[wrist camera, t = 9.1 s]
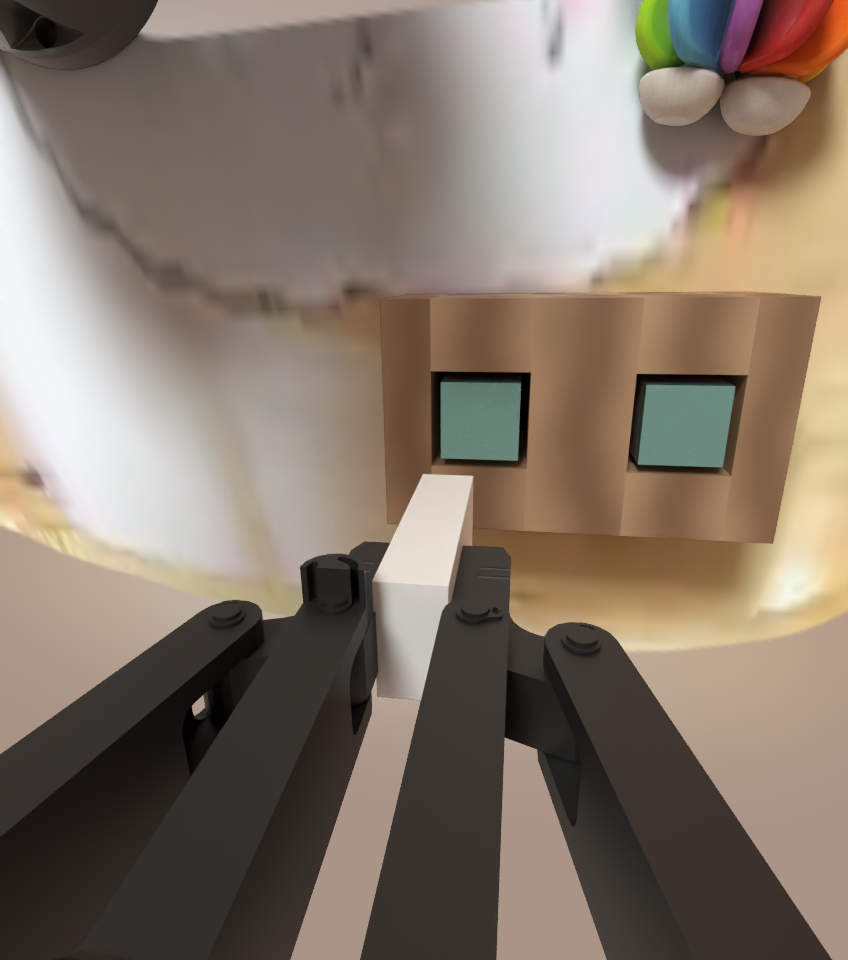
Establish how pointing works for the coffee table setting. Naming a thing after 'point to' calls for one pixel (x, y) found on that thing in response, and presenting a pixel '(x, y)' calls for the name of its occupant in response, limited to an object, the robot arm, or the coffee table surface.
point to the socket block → (600, 405)
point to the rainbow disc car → (736, 58)
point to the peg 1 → (480, 415)
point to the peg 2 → (680, 419)
